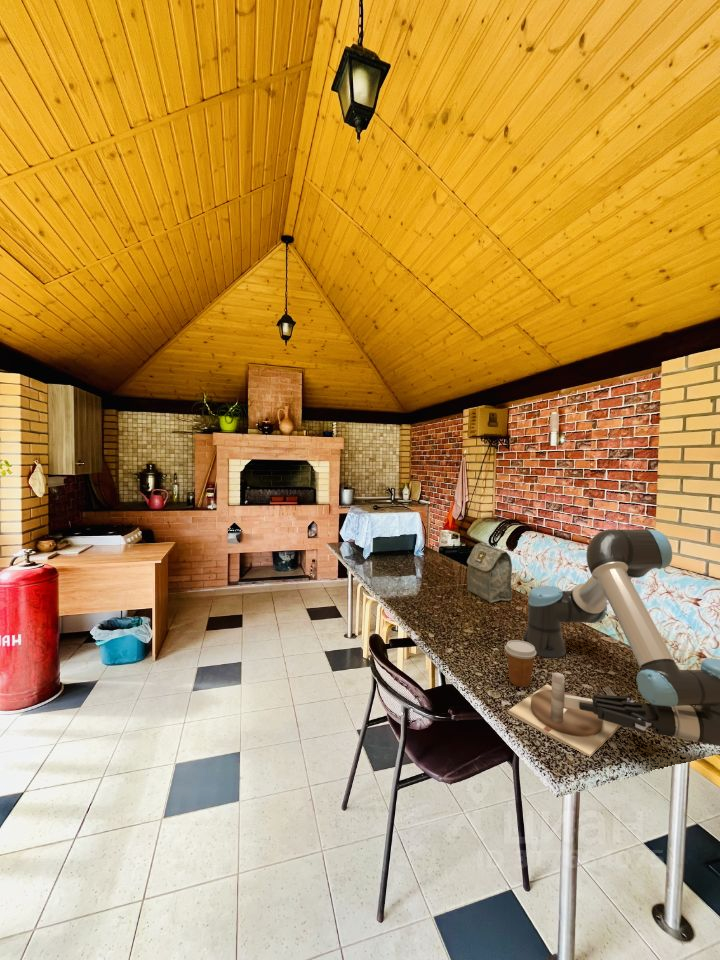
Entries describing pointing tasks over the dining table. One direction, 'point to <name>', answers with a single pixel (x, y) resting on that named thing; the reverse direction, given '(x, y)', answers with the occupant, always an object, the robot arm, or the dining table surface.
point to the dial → (563, 711)
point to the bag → (489, 573)
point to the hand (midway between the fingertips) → (564, 700)
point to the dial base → (577, 742)
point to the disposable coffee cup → (520, 662)
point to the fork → (610, 692)
